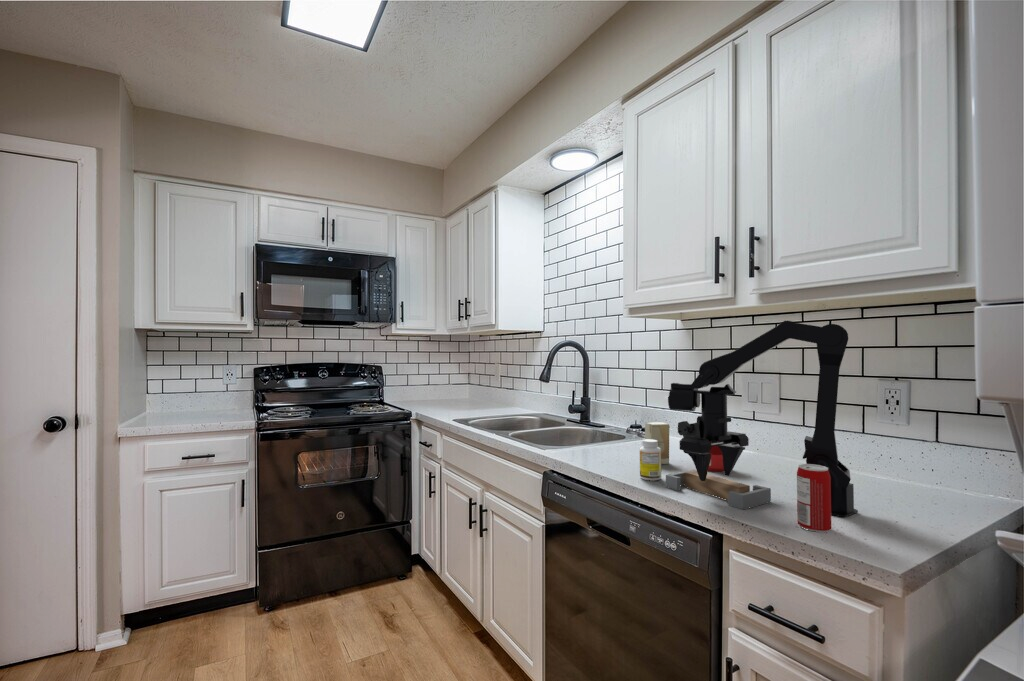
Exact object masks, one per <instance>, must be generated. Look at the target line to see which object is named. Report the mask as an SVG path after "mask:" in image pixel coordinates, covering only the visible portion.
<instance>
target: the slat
mask: <svg viewBox="0 0 1024 681" xmlns="http://www.w3.org/2000/svg"><path fill="white" fill-rule="evenodd" d="M688 471H689V472H684V471H683V472H684V476H685V485H684V488H686V487H688V488H687V489H689V488H690V490H692V489H694V490H693V491H695V490H697V492H699V491H700V492H699V493H702V492H703V493H702V494H705V493H707V494H706V495H708V494H710V495H709V496H711V495H714V496H717V497H720V498H719V499H721V498H723V499H722V500H724V499H726V500H725V501H727V500H728V492H729V491H734V492H738V493H746V492H750V491H751V486H750V485H749V484H744V483H741V482H738V481H734V480H731V479H726V478H724V477H720V476H719V477H718V476H716V475H711V474H708V473H707V476H706V479H705V481H701V480H700V478H699V475H698V473H697V470H696V471H690V470H688ZM714 496H713V497H714ZM717 497H716V498H717Z"/></svg>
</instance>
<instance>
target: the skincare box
mask: <svg viewBox="0 0 1024 681" xmlns="http://www.w3.org/2000/svg"><path fill="white" fill-rule="evenodd" d="M644 439H653V440H657V441H658V447H659V448H660V449H661V465H669V464H670V423H666V422H662V421H661V422H659V421H657V422H656V421H655V422H652V421H651V422H645V423H644Z"/></svg>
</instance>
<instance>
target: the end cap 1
mask: <svg viewBox="0 0 1024 681" xmlns="http://www.w3.org/2000/svg"><path fill="white" fill-rule="evenodd" d="M689 471H697V470H695V469H691V470H686V471H685V470H684V471H680V472H675V473H671V474H665V488H667V487H669V488H668V489H671V488H672V490H675V491H680V490H681V486H685V485H684V484H685V476H684V472H689ZM680 485H681V486H680Z"/></svg>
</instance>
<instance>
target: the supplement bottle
mask: <svg viewBox="0 0 1024 681" xmlns="http://www.w3.org/2000/svg"><path fill="white" fill-rule="evenodd" d="M641 443H642V444H641V445H642V446H640V448H639V477H640V478H641V479H642V480H644V481H645V480H646V481H649V480H650V481H652V482H656V481H659V480H661V479H662V464H661V449H660V448H659V447H658V441H657V440H653V439H645V438H644V439H642V442H641Z"/></svg>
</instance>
